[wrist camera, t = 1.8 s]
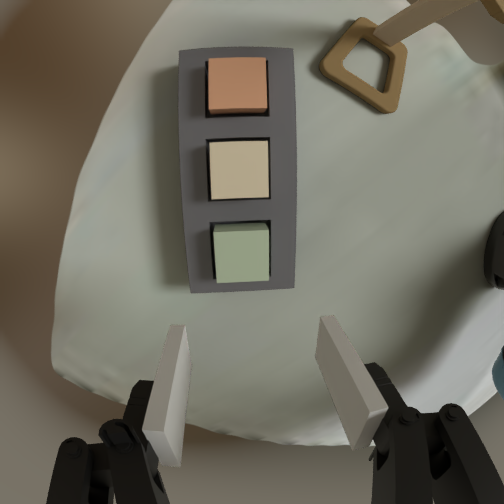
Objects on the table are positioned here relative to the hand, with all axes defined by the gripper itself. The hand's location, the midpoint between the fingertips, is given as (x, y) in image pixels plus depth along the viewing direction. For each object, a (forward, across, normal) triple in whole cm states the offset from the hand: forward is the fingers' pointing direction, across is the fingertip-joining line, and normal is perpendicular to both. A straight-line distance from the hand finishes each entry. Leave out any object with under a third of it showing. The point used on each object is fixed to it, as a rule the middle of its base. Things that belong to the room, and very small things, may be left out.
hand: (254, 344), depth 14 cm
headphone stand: (+19, -16, -22) cm, 33 cm away
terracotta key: (+16, 0, -16) cm, 23 cm away
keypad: (+19, 0, -8) cm, 21 cm away
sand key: (+16, 0, -8) cm, 18 cm away
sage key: (+16, 0, 0) cm, 16 cm away
